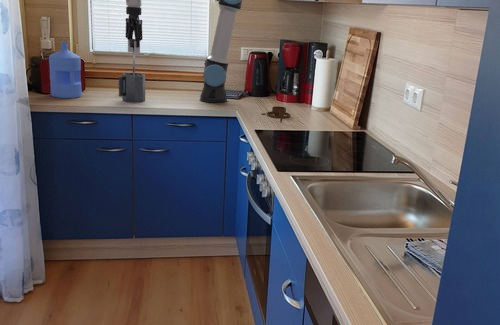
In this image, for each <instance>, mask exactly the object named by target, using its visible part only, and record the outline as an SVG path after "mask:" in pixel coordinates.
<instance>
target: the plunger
mask: <svg viewBox="0 0 500 325" xmlns="http://www.w3.org/2000/svg"><path fill="white" fill-rule="evenodd" d="M134 40H135V38H133V39H130V47H133V52H132V73H133V76H135V73H136V54H134Z"/></svg>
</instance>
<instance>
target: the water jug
mask: <svg viewBox="0 0 500 325" xmlns="http://www.w3.org/2000/svg"><path fill="white" fill-rule="evenodd" d="M60 43H61V45H60V46H61V49H60V50H59V51H57V52H54V53H52V54H50V55H49V57H48V64H49V80H50V81H49V82H50V96H51V97H53V98H58V99H76V98H80V97H82V95H83V91H82V80H81V79H82V78H81V76H82V75H81V70H82V66H81V64H82V60H81V56H79V55H78V54H76V53H75V52H72V51H71V50H69V48H68V46H69V45H68V41H60Z"/></svg>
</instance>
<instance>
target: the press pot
mask: <svg viewBox="0 0 500 325" xmlns="http://www.w3.org/2000/svg"><path fill="white" fill-rule="evenodd" d="M118 96H119V97H121V98H122V102H125V103H131V104H132V103H133V104H139V103H144V102H146V74H144V73H139V72H135V76H133V72H124V73H122V74H121V76H118Z"/></svg>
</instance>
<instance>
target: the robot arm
mask: <svg viewBox="0 0 500 325" xmlns="http://www.w3.org/2000/svg"><path fill="white" fill-rule="evenodd" d="M215 1H216V2H218V3H217V5H218V7H219V14H218V17H217V22H216V27H215V32H214V37H213V42H212V47H211V50H210V51H211V52H210V55H209V56H208V57H207V58H206V59H204V62H203V64H204V69H203V70H204V71H203V73H202V76H203V87H202V90H201V93H200V96H199V98H200V99H199V101H201V102H205V103H213V104H221V103H222V104H223V103H226V102H228V97H227V96H228V95H227V92H226V89H225V85H226V79H227V72H228V67H229V61H228V59H227V58H228V54H229V50H230V45H231V39H232V35H233V31H234V26H235V21H236V17H237V14H238V12H240V11H241V10H242V9H241V7H242V4H243V0H215ZM142 2H143V1H142V0H125V5H126V7H125V13H126V15H128V17H126V18H125V39H127V53H133V47H130V39H135V40H134V54H135V55H140V54H141V44H140V43H141V41H143V19H141V18H140V16H142ZM133 36H134V37H133Z"/></svg>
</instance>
